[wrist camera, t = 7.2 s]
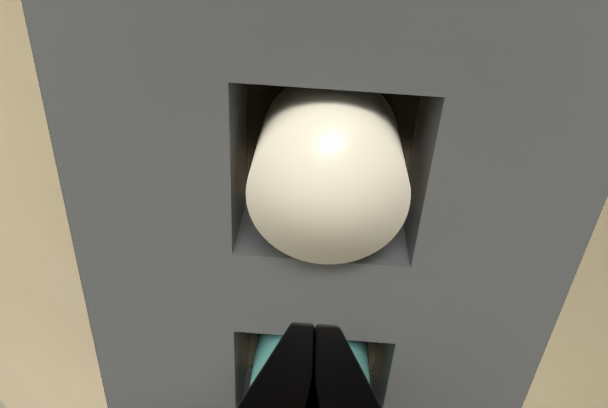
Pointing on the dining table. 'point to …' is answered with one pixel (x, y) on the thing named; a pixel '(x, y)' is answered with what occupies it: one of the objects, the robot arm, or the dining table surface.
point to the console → (310, 276)
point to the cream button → (328, 175)
